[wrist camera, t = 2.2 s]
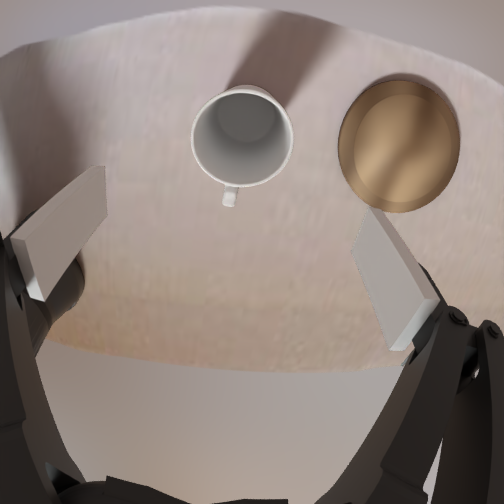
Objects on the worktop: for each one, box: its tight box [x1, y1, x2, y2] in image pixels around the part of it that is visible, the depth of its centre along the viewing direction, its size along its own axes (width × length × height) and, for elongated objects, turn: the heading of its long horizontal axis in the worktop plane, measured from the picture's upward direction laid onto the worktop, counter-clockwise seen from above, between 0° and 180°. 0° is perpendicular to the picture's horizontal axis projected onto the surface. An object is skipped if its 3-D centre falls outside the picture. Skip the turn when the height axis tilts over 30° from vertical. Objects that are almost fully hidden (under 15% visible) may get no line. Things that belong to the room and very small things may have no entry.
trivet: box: [338, 80, 460, 213], centre depth 29 cm, size 16×16×1 cm
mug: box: [191, 85, 294, 207], centre depth 24 cm, size 10×7×12 cm, turn 167°
